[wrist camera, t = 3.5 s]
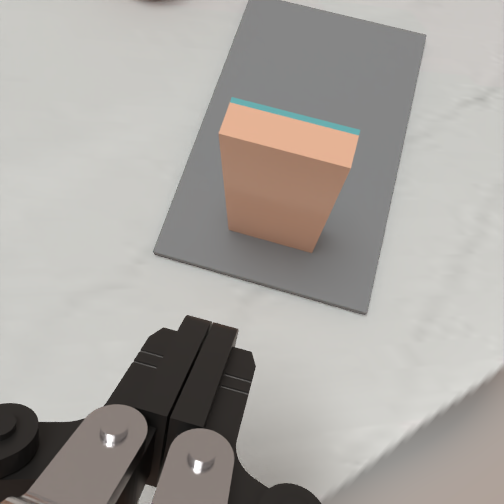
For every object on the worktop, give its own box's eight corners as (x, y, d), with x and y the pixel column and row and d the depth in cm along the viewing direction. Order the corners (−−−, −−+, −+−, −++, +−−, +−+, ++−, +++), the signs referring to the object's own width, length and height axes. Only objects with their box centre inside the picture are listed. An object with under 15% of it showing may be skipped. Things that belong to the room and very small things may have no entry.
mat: (154, 254, 31) (153, 251, 31) (251, -1, 38) (251, -7, 38) (364, 314, 30) (366, 313, 29) (423, 40, 37) (426, 34, 37)
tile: (228, 229, 31) (218, 133, 20) (236, 204, 32) (232, 96, 20) (311, 253, 31) (350, 168, 19) (318, 227, 31) (360, 129, 20)
